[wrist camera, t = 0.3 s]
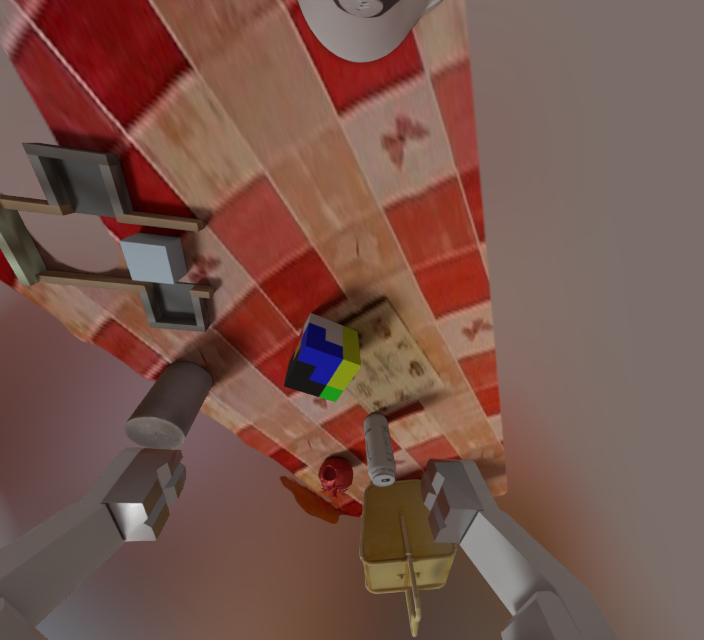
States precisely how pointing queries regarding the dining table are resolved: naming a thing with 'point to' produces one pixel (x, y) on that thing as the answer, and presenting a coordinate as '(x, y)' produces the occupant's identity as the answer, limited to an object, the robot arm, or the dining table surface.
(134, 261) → the block
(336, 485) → the pomegranate
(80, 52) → the dining table surface
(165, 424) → the pillar candle
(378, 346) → the dining table surface
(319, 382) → the puzzle toy
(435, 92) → the dining table surface
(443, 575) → the picnic basket
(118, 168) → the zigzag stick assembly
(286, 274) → the dining table surface
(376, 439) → the energy drink can
